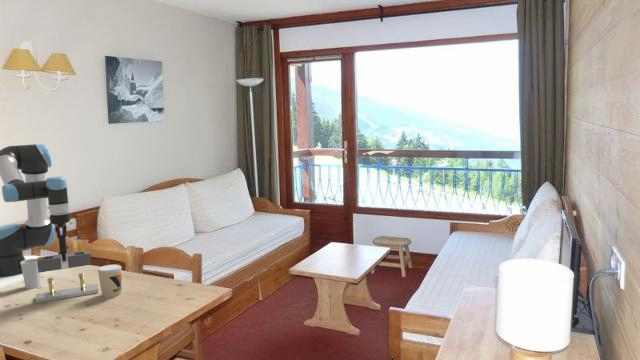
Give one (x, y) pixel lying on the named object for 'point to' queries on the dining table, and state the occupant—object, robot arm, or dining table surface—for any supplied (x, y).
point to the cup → (31, 273)
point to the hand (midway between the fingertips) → (65, 266)
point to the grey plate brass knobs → (66, 291)
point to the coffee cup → (110, 280)
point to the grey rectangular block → (55, 262)
